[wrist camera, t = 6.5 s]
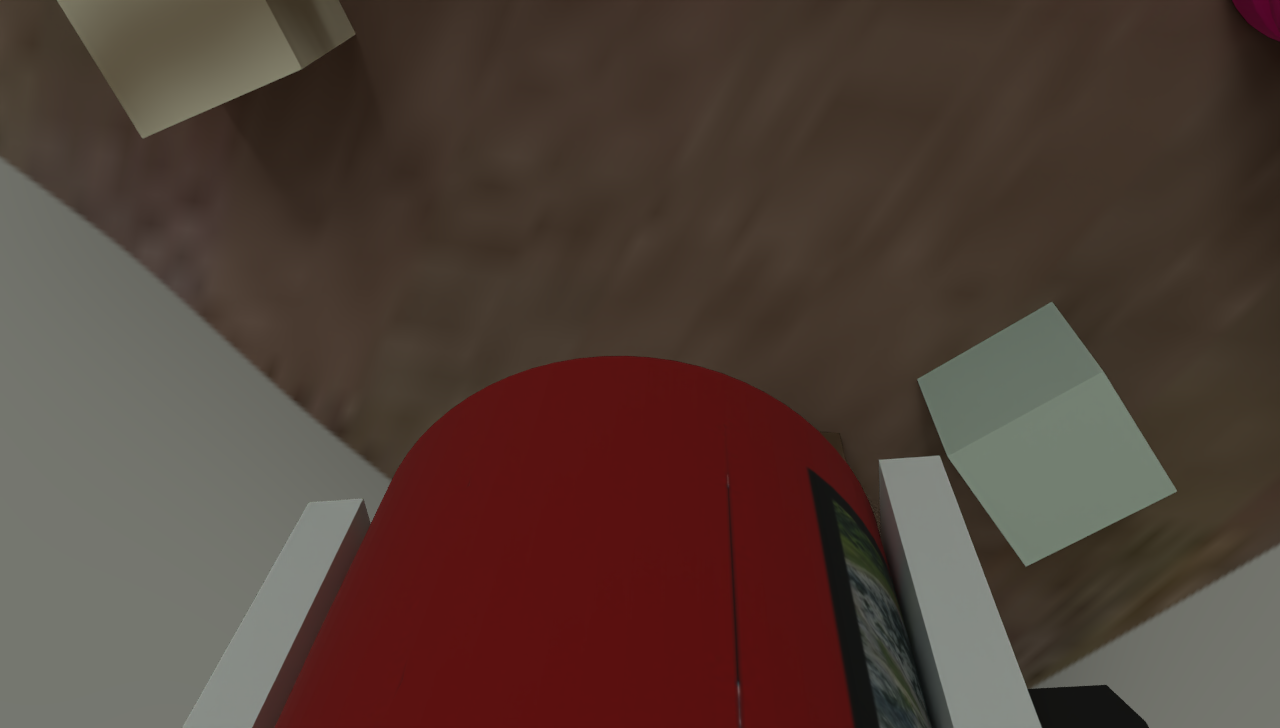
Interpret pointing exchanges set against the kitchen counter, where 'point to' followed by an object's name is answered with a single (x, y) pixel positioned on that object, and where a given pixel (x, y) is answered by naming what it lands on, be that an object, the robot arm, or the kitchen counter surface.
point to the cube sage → (1042, 436)
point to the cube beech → (200, 49)
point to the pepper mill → (1261, 15)
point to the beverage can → (616, 569)
